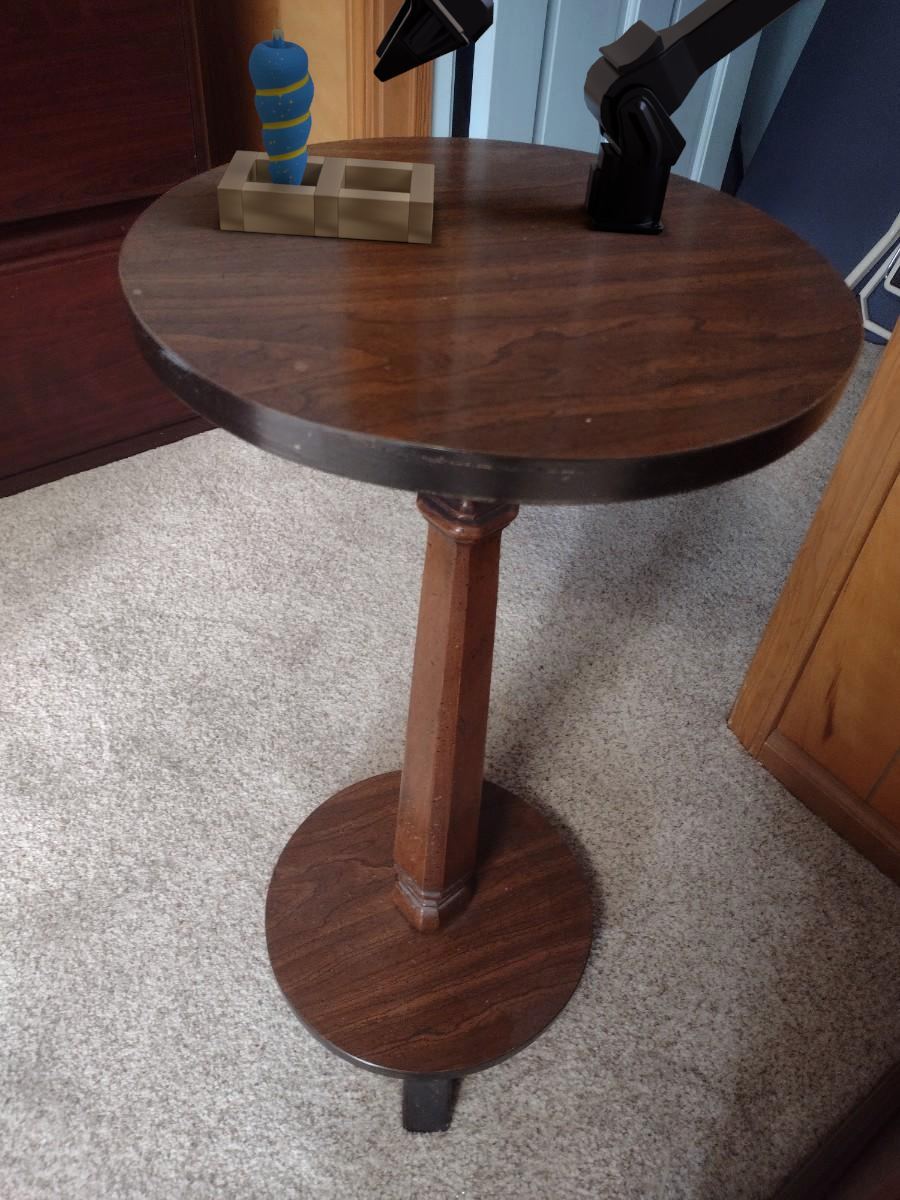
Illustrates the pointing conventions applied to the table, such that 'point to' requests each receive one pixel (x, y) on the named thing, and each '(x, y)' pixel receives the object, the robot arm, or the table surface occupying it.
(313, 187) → the rack
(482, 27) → the robot arm
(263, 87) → the ornament
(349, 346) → the table surface
